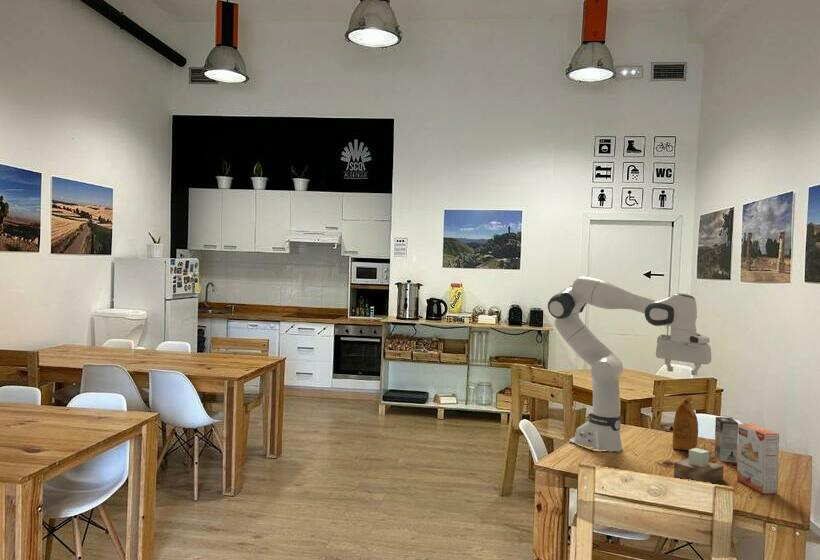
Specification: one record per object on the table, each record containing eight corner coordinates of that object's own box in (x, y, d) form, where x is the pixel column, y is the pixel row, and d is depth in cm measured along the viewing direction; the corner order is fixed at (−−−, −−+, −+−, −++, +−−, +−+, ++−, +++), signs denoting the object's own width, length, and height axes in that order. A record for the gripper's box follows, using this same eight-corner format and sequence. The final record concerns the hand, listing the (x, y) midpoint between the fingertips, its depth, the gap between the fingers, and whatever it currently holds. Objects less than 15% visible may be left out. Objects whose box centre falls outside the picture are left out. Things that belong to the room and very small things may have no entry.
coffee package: (701, 447, 259) (702, 396, 259) (694, 453, 249) (696, 401, 249) (676, 443, 265) (678, 393, 265) (669, 449, 256) (670, 397, 255)
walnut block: (673, 476, 221) (674, 462, 220) (690, 470, 228) (691, 457, 228) (706, 485, 211) (706, 471, 211) (722, 479, 218) (723, 465, 218)
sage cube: (688, 463, 220) (688, 449, 220) (695, 461, 223) (695, 447, 223) (701, 467, 216) (702, 453, 216) (708, 464, 219) (709, 451, 219)
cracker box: (735, 480, 218) (737, 422, 218) (751, 480, 218) (753, 423, 218) (761, 494, 204) (763, 433, 204) (778, 494, 204) (780, 433, 204)
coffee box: (713, 454, 249) (714, 416, 249) (730, 456, 248) (731, 417, 247) (720, 461, 240) (721, 421, 240) (737, 463, 239) (739, 422, 238)
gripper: (653, 334, 232) (651, 369, 232) (705, 339, 216) (704, 378, 216) (662, 333, 236) (660, 368, 236) (714, 338, 220) (712, 376, 220)
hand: (682, 373), depth 226 cm, fingers open, 8 cm apart
